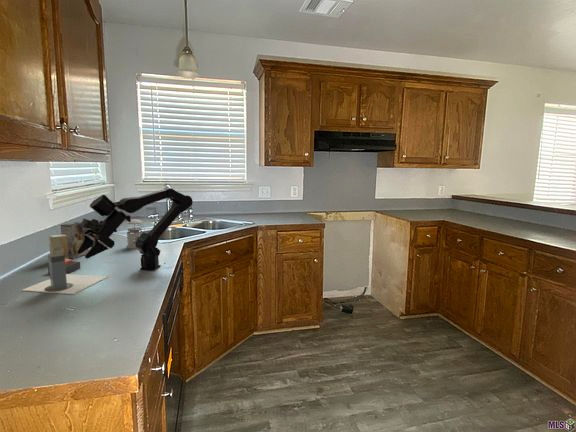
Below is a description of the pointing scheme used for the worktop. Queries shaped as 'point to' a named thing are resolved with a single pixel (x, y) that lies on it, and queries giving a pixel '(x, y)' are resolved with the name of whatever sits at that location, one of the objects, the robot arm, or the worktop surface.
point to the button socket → (70, 267)
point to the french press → (133, 233)
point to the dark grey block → (57, 271)
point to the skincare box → (59, 245)
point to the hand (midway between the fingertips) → (81, 255)
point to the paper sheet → (73, 284)
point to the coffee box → (74, 238)
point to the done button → (68, 261)
